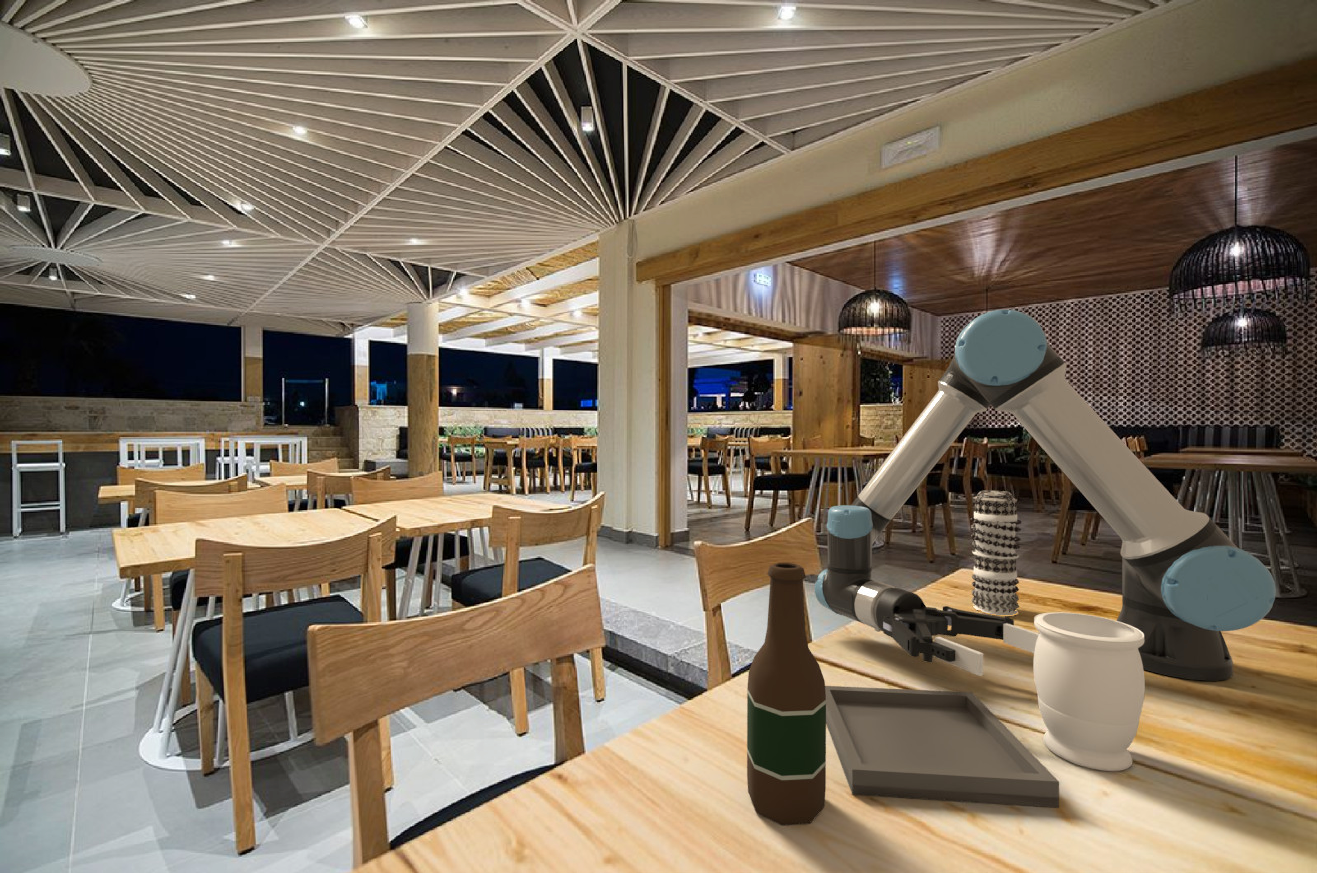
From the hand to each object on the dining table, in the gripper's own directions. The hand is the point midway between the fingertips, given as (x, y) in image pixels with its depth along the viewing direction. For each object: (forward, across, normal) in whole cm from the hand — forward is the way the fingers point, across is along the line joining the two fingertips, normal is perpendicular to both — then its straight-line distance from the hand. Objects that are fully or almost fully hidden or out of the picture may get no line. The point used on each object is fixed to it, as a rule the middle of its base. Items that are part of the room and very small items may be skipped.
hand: (1017, 656), depth 75 cm
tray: (0, +17, -8) cm, 19 cm away
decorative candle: (-33, -41, -9) cm, 53 cm away
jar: (+8, 0, -9) cm, 12 cm away
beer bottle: (+2, +37, -9) cm, 38 cm away
